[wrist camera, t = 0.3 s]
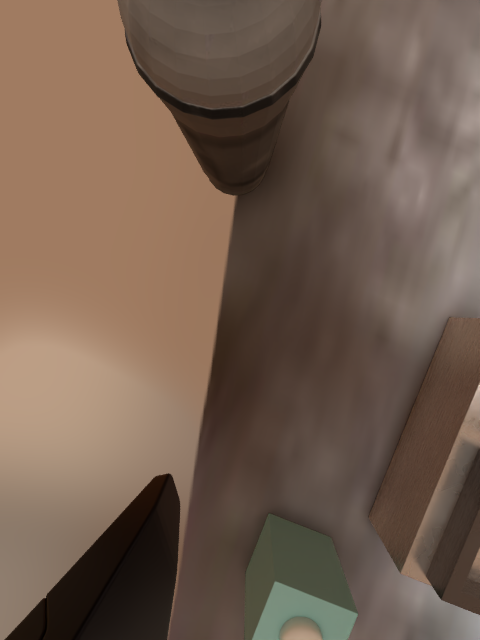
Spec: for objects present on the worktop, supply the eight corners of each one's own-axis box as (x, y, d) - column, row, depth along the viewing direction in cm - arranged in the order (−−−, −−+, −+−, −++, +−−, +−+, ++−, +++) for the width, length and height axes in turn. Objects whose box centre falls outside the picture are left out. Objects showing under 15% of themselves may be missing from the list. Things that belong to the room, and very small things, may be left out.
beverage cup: (280, 218, 23) (486, -404, 3) (182, 210, 23) (-245, -423, 3) (290, 117, 23) (586, -1304, 3) (191, 110, 23) (-212, -1255, 3)
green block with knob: (306, 596, 24) (330, 715, 17) (245, 572, 24) (243, 680, 17) (330, 536, 24) (364, 632, 17) (268, 512, 24) (276, 597, 17)
